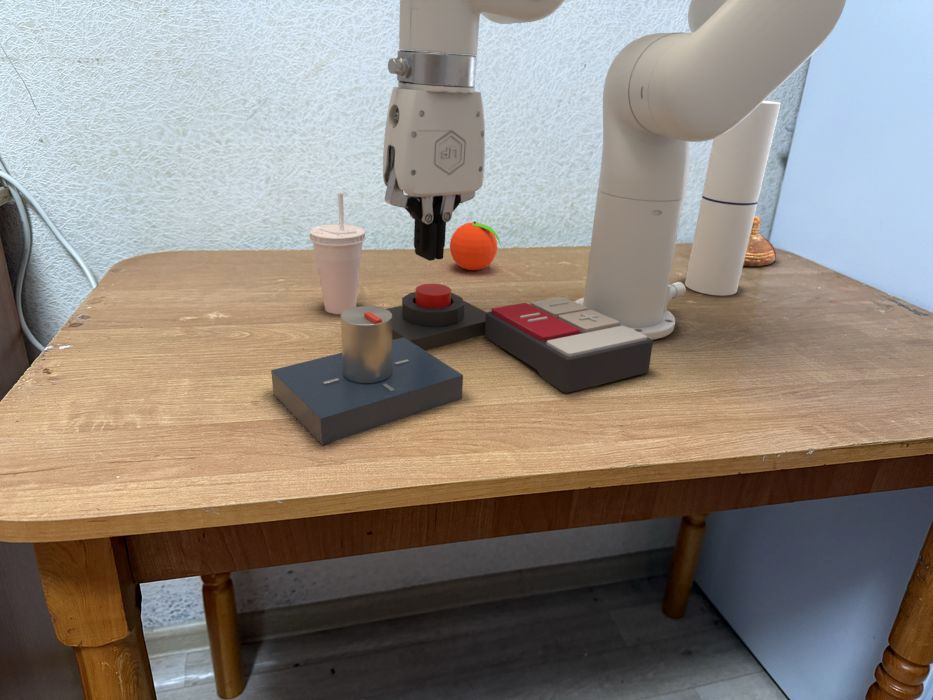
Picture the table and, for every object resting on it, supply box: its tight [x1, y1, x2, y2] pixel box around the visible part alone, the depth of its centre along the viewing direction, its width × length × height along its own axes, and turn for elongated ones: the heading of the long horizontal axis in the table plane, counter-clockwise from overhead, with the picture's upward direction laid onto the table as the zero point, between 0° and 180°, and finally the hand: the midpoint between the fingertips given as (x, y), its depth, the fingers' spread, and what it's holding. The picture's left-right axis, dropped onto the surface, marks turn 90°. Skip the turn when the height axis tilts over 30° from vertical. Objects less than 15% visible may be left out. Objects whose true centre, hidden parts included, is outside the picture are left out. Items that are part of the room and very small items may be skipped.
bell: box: [743, 215, 777, 267], centre depth 106 cm, size 12×12×7 cm
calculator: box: [484, 296, 654, 394], centre depth 68 cm, size 11×4×15 cm
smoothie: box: [308, 192, 366, 315], centre depth 75 cm, size 6×6×14 cm
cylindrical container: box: [684, 100, 782, 297], centre depth 87 cm, size 7×7×25 cm
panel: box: [270, 337, 464, 446], centre depth 58 cm, size 14×10×3 cm
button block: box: [385, 291, 488, 351], centre depth 73 cm, size 12×9×4 cm
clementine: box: [449, 221, 502, 272], centre depth 93 cm, size 8×7×7 cm
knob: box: [340, 305, 392, 383], centre depth 57 cm, size 4×4×6 cm
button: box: [414, 283, 452, 308], centre depth 72 cm, size 4×4×2 cm
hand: (428, 256), depth 70 cm, fingers closed
